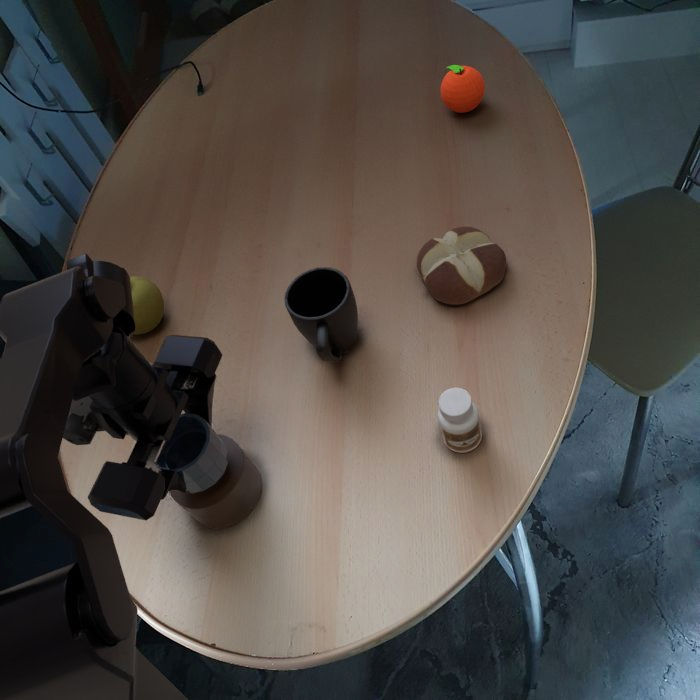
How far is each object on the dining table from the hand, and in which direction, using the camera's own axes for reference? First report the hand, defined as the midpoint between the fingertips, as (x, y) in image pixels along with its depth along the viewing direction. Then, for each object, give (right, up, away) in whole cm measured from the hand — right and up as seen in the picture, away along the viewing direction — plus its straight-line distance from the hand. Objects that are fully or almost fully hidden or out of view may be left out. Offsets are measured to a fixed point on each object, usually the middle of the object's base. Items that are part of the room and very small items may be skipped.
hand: (194, 459), depth 72 cm
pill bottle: (+29, +2, +4) cm, 30 cm away
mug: (+15, +12, +15) cm, 24 cm away
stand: (+2, -5, +7) cm, 9 cm away
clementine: (+35, +51, +38) cm, 72 cm away
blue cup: (0, -1, +1) cm, 2 cm away
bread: (+32, +22, +18) cm, 42 cm away
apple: (-13, +16, +26) cm, 33 cm away
